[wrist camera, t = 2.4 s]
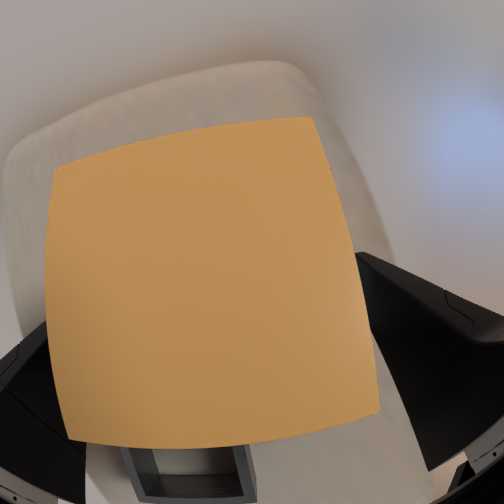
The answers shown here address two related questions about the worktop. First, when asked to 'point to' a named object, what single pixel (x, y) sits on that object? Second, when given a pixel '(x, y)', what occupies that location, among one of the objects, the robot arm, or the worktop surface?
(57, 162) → the worktop surface
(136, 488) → the socket
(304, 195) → the plug
